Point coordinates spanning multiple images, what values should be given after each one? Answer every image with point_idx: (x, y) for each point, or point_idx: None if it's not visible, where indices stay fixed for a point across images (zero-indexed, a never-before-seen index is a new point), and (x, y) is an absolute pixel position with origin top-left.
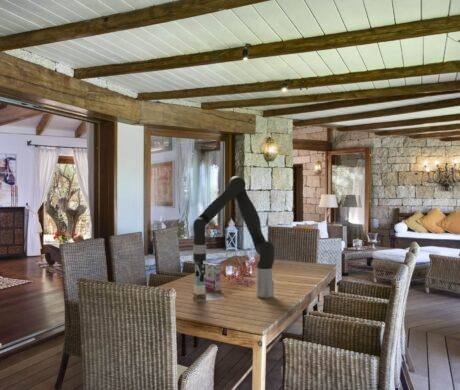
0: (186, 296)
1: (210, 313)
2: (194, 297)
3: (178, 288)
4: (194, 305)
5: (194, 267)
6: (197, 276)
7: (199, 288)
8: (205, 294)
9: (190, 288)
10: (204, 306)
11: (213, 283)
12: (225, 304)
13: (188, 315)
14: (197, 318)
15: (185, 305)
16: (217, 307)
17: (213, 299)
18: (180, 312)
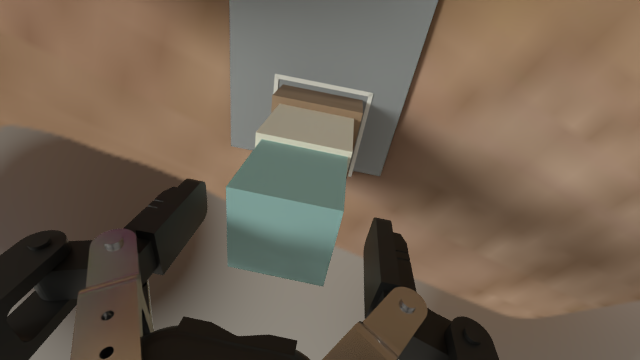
0: (222, 167)
1: (630, 219)
2: None
3: (12, 123)
4: (423, 214)
5: (32, 323)
6: (241, 247)
7: None
8: (361, 117)
9: (4, 44)
10: (486, 181)
11: None
12: (591, 17)
13: (540, 298)
14: (617, 293)
15: None
16: (585, 123)
17: (407, 50)
18: (472, 300)
